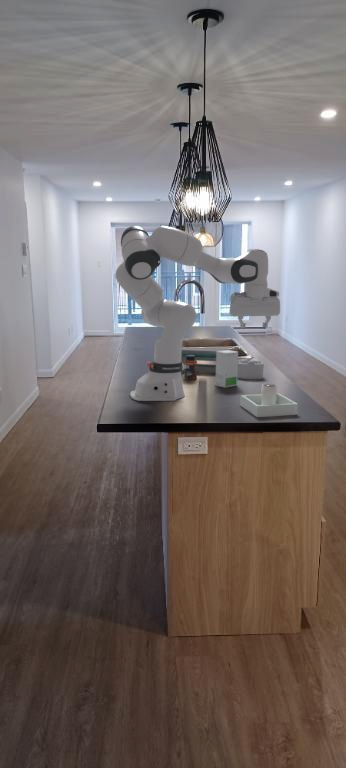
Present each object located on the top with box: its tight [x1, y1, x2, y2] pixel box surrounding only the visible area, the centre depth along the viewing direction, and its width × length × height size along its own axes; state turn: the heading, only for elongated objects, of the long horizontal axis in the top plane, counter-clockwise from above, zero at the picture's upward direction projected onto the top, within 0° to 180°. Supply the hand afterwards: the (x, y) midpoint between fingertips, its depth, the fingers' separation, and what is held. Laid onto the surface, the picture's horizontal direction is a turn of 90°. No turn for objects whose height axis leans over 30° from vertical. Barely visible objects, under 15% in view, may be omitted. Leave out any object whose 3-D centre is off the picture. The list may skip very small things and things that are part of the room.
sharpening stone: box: [181, 346, 231, 374], centre depth 268 cm, size 25×8×11 cm, turn 80°
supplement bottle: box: [183, 355, 198, 381], centre depth 249 cm, size 6×6×11 cm
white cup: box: [260, 383, 278, 405], centre depth 199 cm, size 6×6×9 cm
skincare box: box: [214, 349, 239, 388], centre depth 237 cm, size 8×7×16 cm
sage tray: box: [239, 392, 299, 418], centre depth 200 cm, size 16×16×4 cm
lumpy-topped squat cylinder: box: [237, 357, 265, 380], centre depth 256 cm, size 10×13×9 cm
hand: (254, 327), depth 210 cm, fingers open, 8 cm apart
